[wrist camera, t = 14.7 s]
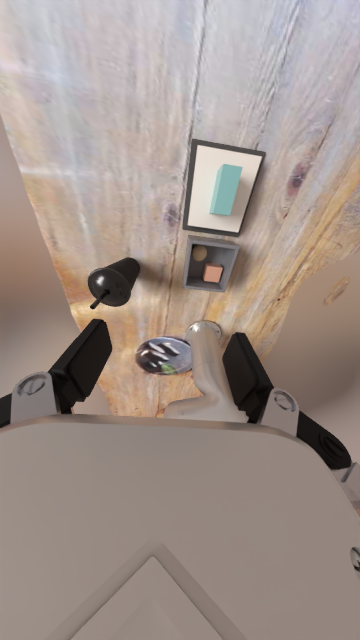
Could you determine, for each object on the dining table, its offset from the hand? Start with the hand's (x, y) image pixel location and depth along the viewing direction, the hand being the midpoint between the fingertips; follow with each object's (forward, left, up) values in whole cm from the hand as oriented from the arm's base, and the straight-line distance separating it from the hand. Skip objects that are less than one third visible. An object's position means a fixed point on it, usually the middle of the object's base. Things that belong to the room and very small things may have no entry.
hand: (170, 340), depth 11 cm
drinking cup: (-5, +12, -31) cm, 33 cm away
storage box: (-1, -7, -30) cm, 31 cm away
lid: (+12, -7, -30) cm, 33 cm away
